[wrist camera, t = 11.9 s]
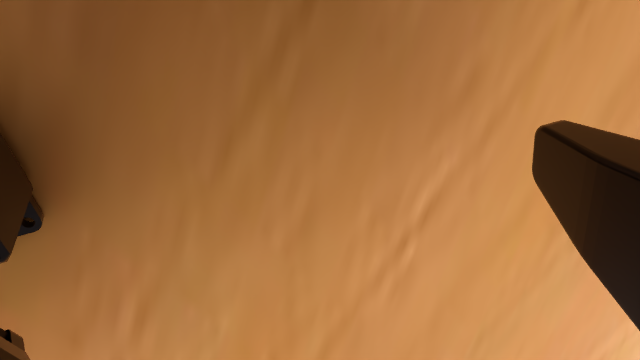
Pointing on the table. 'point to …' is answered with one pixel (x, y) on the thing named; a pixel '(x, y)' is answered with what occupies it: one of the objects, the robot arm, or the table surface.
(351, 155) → the table surface
